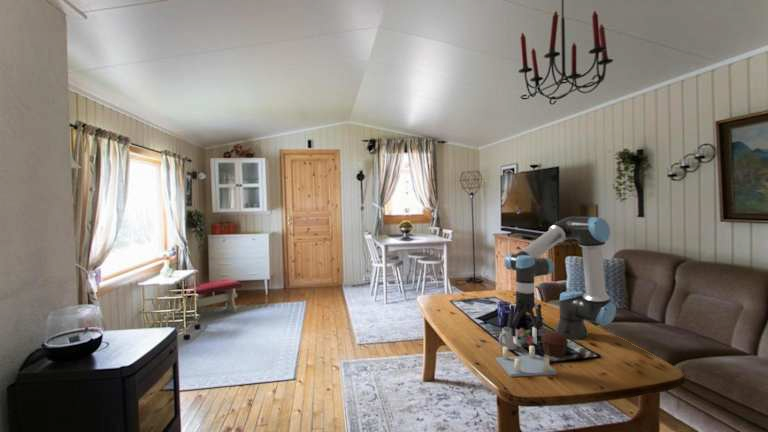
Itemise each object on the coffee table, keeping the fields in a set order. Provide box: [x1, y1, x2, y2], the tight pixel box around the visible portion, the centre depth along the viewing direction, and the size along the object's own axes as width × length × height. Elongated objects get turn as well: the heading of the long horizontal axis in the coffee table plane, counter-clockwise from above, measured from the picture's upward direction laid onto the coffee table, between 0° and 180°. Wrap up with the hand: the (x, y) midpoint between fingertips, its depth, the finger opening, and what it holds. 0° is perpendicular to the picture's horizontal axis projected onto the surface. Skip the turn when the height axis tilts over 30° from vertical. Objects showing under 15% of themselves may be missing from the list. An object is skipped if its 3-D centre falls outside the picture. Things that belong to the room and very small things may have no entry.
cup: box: [498, 326, 518, 351], centre depth 179 cm, size 7×10×9 cm
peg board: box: [495, 345, 558, 378], centre depth 158 cm, size 20×16×6 cm
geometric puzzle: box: [517, 327, 533, 346], centre depth 158 cm, size 7×7×8 cm
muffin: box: [540, 330, 569, 358], centre depth 172 cm, size 12×11×10 cm
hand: (524, 342), depth 158 cm, fingers closed on geometric puzzle, 8 cm apart
